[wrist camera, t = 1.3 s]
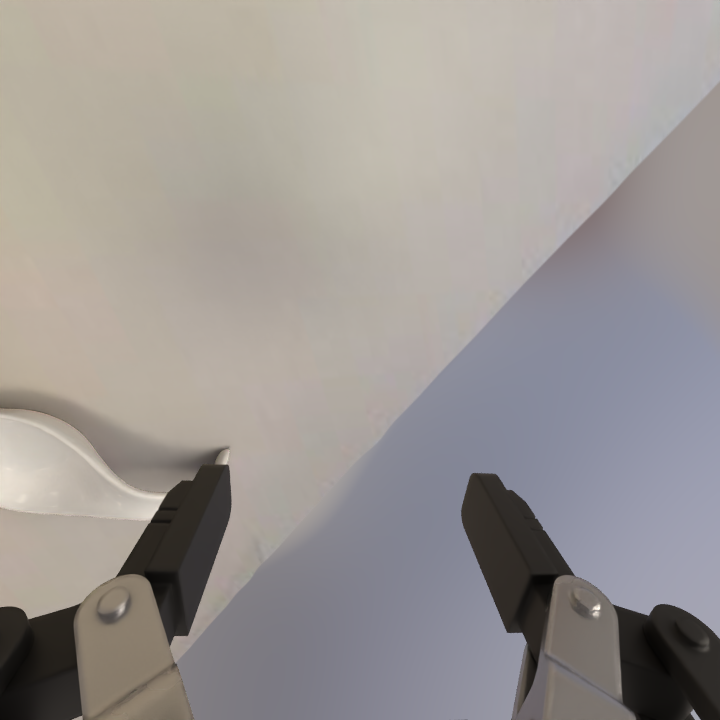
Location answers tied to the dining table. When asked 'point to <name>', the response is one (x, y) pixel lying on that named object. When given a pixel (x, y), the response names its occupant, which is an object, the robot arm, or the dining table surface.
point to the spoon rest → (64, 472)
